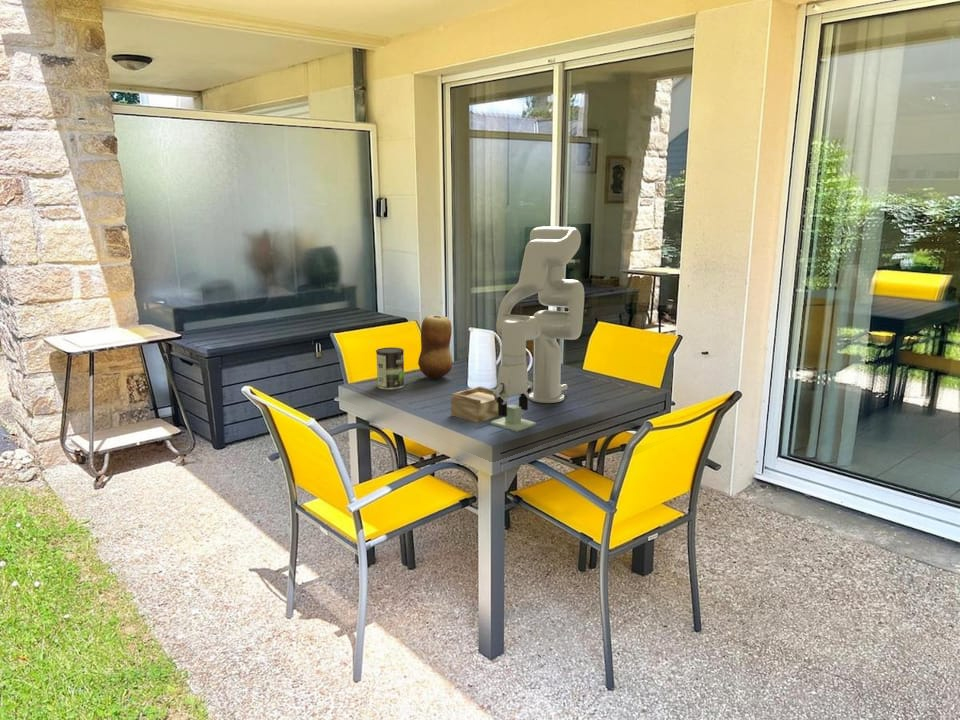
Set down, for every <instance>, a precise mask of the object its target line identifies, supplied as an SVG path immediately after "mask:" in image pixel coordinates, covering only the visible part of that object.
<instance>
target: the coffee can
mask: <svg viewBox="0 0 960 720" xmlns="http://www.w3.org/2000/svg"><path fill="white" fill-rule="evenodd" d="M404 351H405V350H404V349H403V348H402V347H396V346H395V347H394V346H393V347H392V346H391V347H381V348H377V349H376V350H375V353H376V372H377V376H376V377H377V388H378V389H380V390H387V391H388V390H399V389H402V388H404V387H405V364H404V363H405V359H404V355H405V354H404Z"/></svg>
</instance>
